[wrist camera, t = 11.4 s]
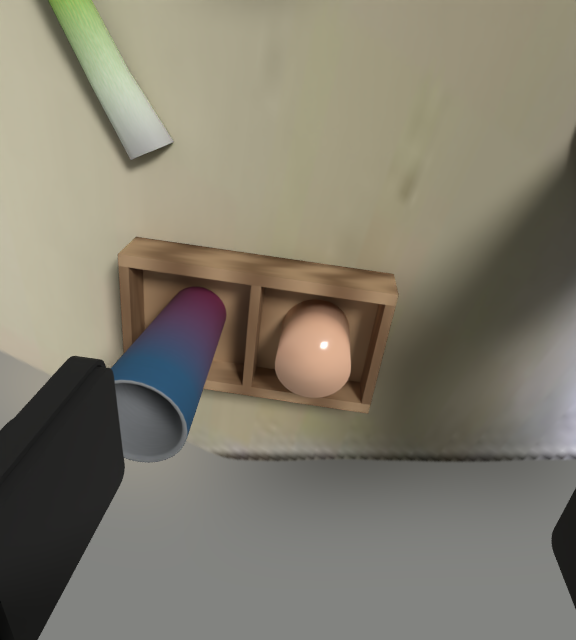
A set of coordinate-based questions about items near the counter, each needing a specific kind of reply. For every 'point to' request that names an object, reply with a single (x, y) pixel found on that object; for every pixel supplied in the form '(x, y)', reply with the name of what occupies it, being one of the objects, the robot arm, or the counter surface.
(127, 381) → the cup
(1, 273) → the counter surface
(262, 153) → the counter surface
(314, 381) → the peach capsule shape
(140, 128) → the leek
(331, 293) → the caddy
